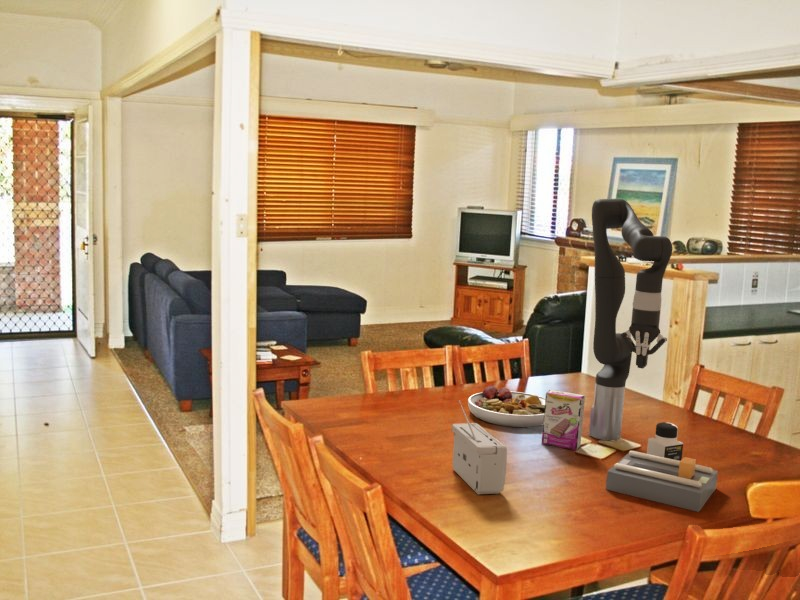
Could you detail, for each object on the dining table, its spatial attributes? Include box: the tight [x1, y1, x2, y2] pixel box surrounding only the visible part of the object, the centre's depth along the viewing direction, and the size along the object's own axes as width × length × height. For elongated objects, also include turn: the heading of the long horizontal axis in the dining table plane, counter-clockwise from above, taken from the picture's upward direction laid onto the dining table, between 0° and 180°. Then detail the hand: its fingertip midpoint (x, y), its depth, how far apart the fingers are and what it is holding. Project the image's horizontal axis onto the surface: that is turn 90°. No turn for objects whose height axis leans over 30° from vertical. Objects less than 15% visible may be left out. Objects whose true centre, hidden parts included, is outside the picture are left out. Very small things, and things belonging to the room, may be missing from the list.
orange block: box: [678, 456, 697, 479], centre depth 225 cm, size 3×5×4 cm, turn 148°
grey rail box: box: [605, 450, 719, 513], centre depth 229 cm, size 24×20×7 cm
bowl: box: [467, 385, 546, 428], centre depth 290 cm, size 30×30×8 cm
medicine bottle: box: [646, 421, 684, 461], centre depth 248 cm, size 7×7×12 cm
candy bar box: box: [541, 389, 586, 451], centre depth 260 cm, size 11×5×16 cm, turn 65°
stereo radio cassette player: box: [451, 400, 508, 495], centre depth 226 cm, size 21×8×20 cm, turn 17°
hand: (640, 367), depth 242 cm, fingers closed
